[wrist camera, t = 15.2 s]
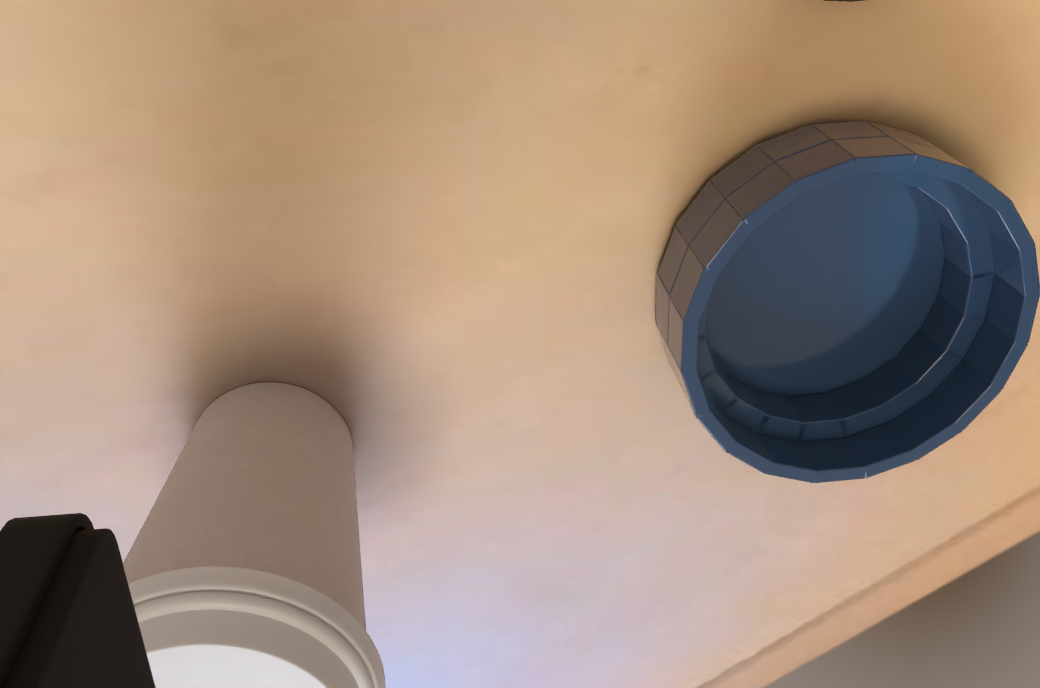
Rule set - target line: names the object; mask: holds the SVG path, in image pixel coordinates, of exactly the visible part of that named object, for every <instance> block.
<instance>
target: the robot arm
mask: <svg viewBox="0 0 1040 688" xmlns="http://www.w3.org/2000/svg"><path fill="white" fill-rule="evenodd" d="M0 688H156V687H155V684H154V680H153V676H152V672H151V668H150V665H149V661H148V657H147V653H146V650H145V646H144V642H143V638H142V634H141V631H140V627H139V623H138V619H137V616H136V612H135V608H134V604H133V600H132V597H131V593H130V589H129V585H128V582H127V578H126V574H125V570H124V566H123V563H122V559H121V555H120V551H119V547H118V544H117V541H116V538H115V535H114V534H113V532H112V531H111V530H110V529H95V530H94V528H93V525H92V522H91V521H90V520H89V518H88V517H87V516H86V515H84V514H81V513H77V514H63V515H50V516H37V517H24V518H14V519H12V520H10V521H8V522H7V523H6V524H5V526H4V527H3V528H2V529H1V531H0Z"/></svg>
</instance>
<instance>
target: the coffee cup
mask: <svg viewBox="0 0 1040 688" xmlns="http://www.w3.org/2000/svg"><path fill="white" fill-rule="evenodd" d="M123 566H124V570H125V574H126V578H127V582H128V585H129V589H130V593H131V597H132V600H133V604H134V608H135V612H136V616H137V619H138V623H139V627H140V631H141V634H142V638H143V642H144V646H145V650H146V653H147V657H148V661H149V665H150V668H151V672H152V676H153V680H154V684H155V687H156V688H385V675H384V669H383V665H382V661H381V658H380V656H379V653H378V651H377V649H376V647H375V645H374V643H373V641H372V639H371V638H370V636H369V635H368V633H367V632H366V622H365V610H364V597H363V583H362V570H361V556H360V542H359V527H358V513H357V499H356V484H355V469H354V455H353V444H352V439H351V435H350V432H349V429H348V427H347V425H346V423H345V421H344V420H343V418H342V417H341V416H340V414H339V413H338V412H337V411H336V410H335V409H334V408H333V407H332V406H331V405H330V404H329V403H328V402H327V401H325V400H324V399H323V398H321V397H319V396H318V395H316V394H314V393H312V392H310V391H308V390H306V389H303V388H300V387H297V386H294V385H289V384H284V383H274V382H264V383H254V384H249V385H245V386H241V387H238V388H235V389H233V390H231V391H229V392H227V393H225V394H223V395H221V396H220V397H218V398H217V399H216V400H215V401H213V402H212V403H211V404H210V405H209V406H208V407H207V408H206V409H205V411H204V412H203V413H202V415H201V416H200V418H199V420H198V421H197V423H196V425H195V427H194V429H193V431H192V433H191V435H190V437H189V438H188V440H187V442H186V444H185V446H184V448H183V450H182V452H181V454H180V456H179V458H178V460H177V462H176V463H175V465H174V467H173V469H172V471H171V473H170V475H169V477H168V479H167V481H166V483H165V485H164V486H163V488H162V490H161V492H160V494H159V496H158V498H157V500H156V502H155V504H154V506H153V507H152V509H151V511H150V513H149V515H148V517H147V519H146V521H145V523H144V525H143V527H142V528H141V530H140V532H139V534H138V536H137V538H136V540H135V542H134V544H133V546H132V547H131V549H130V551H129V553H128V555H127V557H126V559H125V561H124V563H123Z"/></svg>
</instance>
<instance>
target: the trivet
mask: <svg viewBox="0 0 1040 688" xmlns="http://www.w3.org/2000/svg"><path fill="white" fill-rule="evenodd" d="M825 1H846V2H853V1H863V0H825Z"/></svg>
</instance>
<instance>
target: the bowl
mask: <svg viewBox="0 0 1040 688" xmlns="http://www.w3.org/2000/svg"><path fill="white" fill-rule="evenodd" d="M676 225H677V226H675V228H674V230H673V233H672V236H671V238H670V241H669V244H668V247H667V249H666V252H665V255H664V257H663V260H662V263H661V265H660V268H659V271H658V274H657V289H656V325H657V328H658V331H659V334H660V337H661V340H662V343H663V345H664V348H665V351H666V354H667V357H668V360H669V363H670V365H671V367H672V369H673V371H674V373H675V375H676V377H677V379H678V382H679V384H680V386H681V387H682V390H683V392H684V394H685V396H686V398H687V400H688V402H689V404H690V406H691V408H692V410H693V412H694V414H695V416H696V418H697V419H698V420H699V422H700V423H701V424H702V425H703V426H704V427H705V429H706V430H707V431H708V432H709V433H710V434H711V436H712V437H713V438H714V439H715V440H716V442H717V443H718V444H719V445H720V446H721V447H722V449H723V450H724V451H726V452H727V453H728V454H730V455H732V456H734V457H736V458H737V459H739V460H741V461H743V462H745V463H746V464H748V465H750V466H752V467H754V468H756V469H757V470H759V471H761V472H763V473H765V474H768V475H773V476H779V477H784V478H790V479H795V480H800V481H806V482H811V483H820V482H831V481H842V480H852V479H863V478H865V477H866V478H868V477H871V476H873V475H876V474H879V473H882V472H885V471H888V470H890V469H893V468H896V467H899V466H902V465H905V464H907V463H910V462H913V461H915V460H918V459H920V458H921V457H923V456H924V455H926V454H928V453H929V452H931V451H932V450H934V449H935V448H937V447H938V446H940V445H942V444H943V443H945V442H946V441H948V440H949V439H951V438H953V437H954V436H956V435H957V434H959V433H960V432H962V431H963V430H964V429H965V428H966V427H967V426H968V425H969V424H970V423H971V422H972V421H973V420H974V419H975V418H976V417H977V416H978V415H979V414H980V413H981V412H982V410H983V409H984V408H985V407H986V406H987V405H988V404H989V403H990V402H991V401H992V400H993V399H994V398H995V397H996V396H997V395H998V394H999V393H1000V392H1001V390H1002V389H1003V387H1004V386H1005V384H1006V382H1007V380H1008V379H1009V377H1010V375H1011V373H1012V372H1013V370H1014V368H1015V366H1016V365H1017V363H1018V361H1019V359H1020V357H1021V356H1022V354H1023V352H1024V350H1025V349H1026V347H1027V345H1028V342H1029V339H1030V335H1031V330H1032V326H1033V322H1034V318H1035V313H1036V309H1037V305H1038V300H1039V296H1040V284H1039V275H1038V266H1037V257H1036V248H1035V243H1034V240H1033V238H1032V237H1031V235H1030V233H1029V231H1028V229H1027V228H1026V226H1025V224H1024V222H1023V220H1022V219H1021V217H1020V215H1019V213H1018V211H1017V210H1016V208H1015V206H1014V204H1013V202H1012V201H1011V200H1010V199H1009V197H1007V196H1006V195H1005V194H1003V193H1002V192H1001V191H999V190H998V189H997V188H996V187H994V186H993V185H992V184H990V183H989V182H988V181H986V180H985V179H984V178H982V177H981V176H980V175H978V174H977V173H976V172H975V171H973V170H972V169H970V168H969V167H967V166H966V165H964V164H962V163H961V162H959V161H958V160H956V159H954V158H953V157H951V156H949V155H948V154H946V153H945V152H943V151H941V150H940V149H938V148H936V147H935V146H933V145H932V144H930V143H928V142H927V141H925V140H924V139H922V138H920V137H919V136H917V135H915V134H913V133H910V132H906V131H902V130H899V129H895V128H892V127H888V126H885V125H881V124H877V123H874V122H870V121H851V122H836V123H820V124H812V125H807V126H804V127H801V128H799V129H796V130H794V131H791V132H788V133H786V134H783V135H780V136H778V137H775V138H773V139H770V140H767V141H765V142H762V143H759V144H757V146H756V145H755V146H754V147H752V148H751V149H750V150H748V151H747V152H746V153H744V154H743V155H742V156H740V157H739V158H738V159H736V160H735V161H734V162H732V163H731V164H730V165H728V166H727V167H726V168H724V169H723V170H722V171H720V172H719V173H718V174H716V175H715V176H714V177H712V178H711V179H710V180H709V181H708V182H707V183H706V185H705V186H704V187H703V189H702V190H701V191H700V193H699V194H698V195H697V197H696V198H695V199H694V200H693V202H692V203H691V204H690V206H689V207H688V208H687V210H686V211H685V212H684V214H683V215H682V216H681V218H680V219H679V220H678V222H677V223H676Z"/></svg>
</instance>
